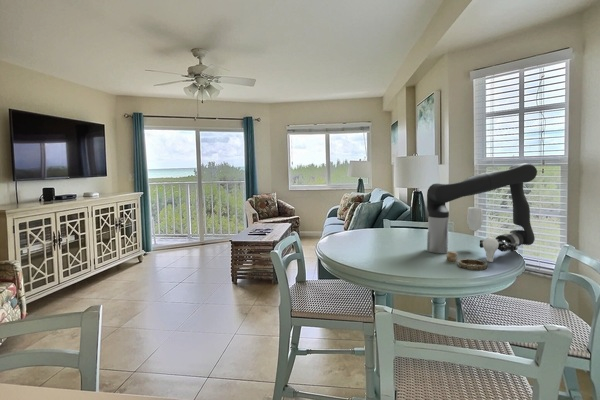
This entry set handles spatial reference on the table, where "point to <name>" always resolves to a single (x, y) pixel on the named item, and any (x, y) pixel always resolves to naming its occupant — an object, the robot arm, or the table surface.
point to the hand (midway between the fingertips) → (490, 247)
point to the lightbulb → (490, 247)
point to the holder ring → (472, 264)
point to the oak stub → (451, 256)
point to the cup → (474, 218)
